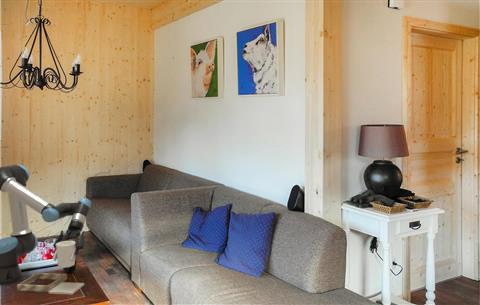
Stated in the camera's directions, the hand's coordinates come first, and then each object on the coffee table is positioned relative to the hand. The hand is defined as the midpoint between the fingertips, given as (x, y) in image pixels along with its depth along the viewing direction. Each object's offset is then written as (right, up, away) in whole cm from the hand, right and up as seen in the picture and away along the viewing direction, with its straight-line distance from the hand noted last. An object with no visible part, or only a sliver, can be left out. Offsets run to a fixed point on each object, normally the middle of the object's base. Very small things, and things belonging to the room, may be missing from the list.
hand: (63, 260), depth 219 cm
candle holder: (0, -4, +4) cm, 5 cm away
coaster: (0, -17, +4) cm, 17 cm away
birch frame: (-16, -16, +11) cm, 25 cm away
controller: (-9, -15, +29) cm, 34 cm away
